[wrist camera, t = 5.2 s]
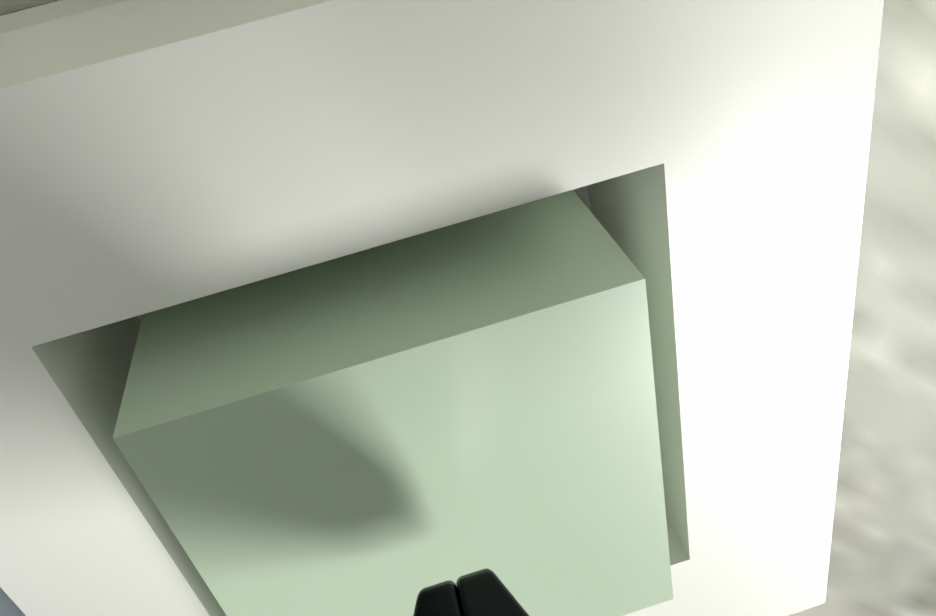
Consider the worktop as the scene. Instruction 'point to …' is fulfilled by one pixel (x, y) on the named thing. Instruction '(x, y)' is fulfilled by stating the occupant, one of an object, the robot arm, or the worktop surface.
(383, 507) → the sage key
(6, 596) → the slate key
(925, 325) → the worktop surface
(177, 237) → the keypad
